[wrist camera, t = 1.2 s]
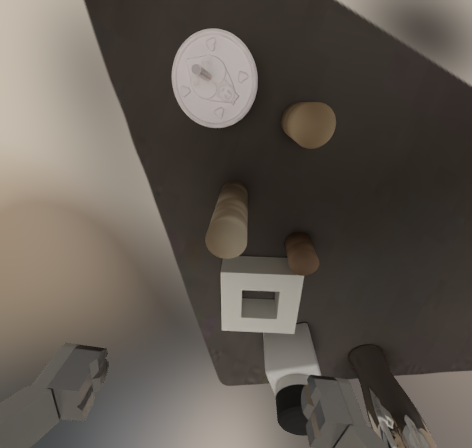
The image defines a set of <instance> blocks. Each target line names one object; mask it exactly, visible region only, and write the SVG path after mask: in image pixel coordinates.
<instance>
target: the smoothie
mask: <svg viewBox="0 0 472 448" xmlns="http://www.w3.org/2000/svg"><path fill="white" fill-rule="evenodd" d="M172 86H173V90H174V94H175V97H176V99H177V101H178V103H179V105H180V107H181V108H182V110H183V111H184V112H185V114H186V115H187V116H188V117H190V118H191V119H192V120H193V121H195V122H196V123H198V124H200V125H203V126H206V127H210V128H224V127H227V126H230V125H233V124H235V123H236V122H238V121H239V120H241V119H242V118H243V117H244V116H245V115H246V114H247V112H248V111H249V110H250V108H251V106H252V104H253V102H254V100H255V97H256V93H257V89H258V74H257V69H256V65H255V61H254V59H253V57H252V55H251V53H250V51H249V50H248V48H247V47H246V45H245V44H244V43H243V42H242V41H241V40H240V39H239V38H238V37H236V36H235V35H233V34H232V33H230V32H228V31H225V30H221V29H205V30H201V31H199V32H196V33H195V34H193V35H191V36H190V37H189V38H188V39H187V40H186V41H185V42H184V43H183V44H182V45H181V47H180V48H179V50H178V52H177V54H176V56H175V59H174V63H173V68H172Z"/></svg>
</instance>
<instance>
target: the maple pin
mask: <svg viewBox="0 0 472 448" xmlns="http://www.w3.org/2000/svg"><path fill="white" fill-rule="evenodd" d="M247 223H248V191H247V188H246V187H245V186H244V185H243V184H242V183H240V182H237V181H230V182H228V183H226V184H225V185H224V186H223V187H222V189H221V192H220V195H219V198H218V201H217V204H216V207H215V210H214V213H213V216H212V219H211V222H210V225H209V228H208V231H207V234H206V238H205V242H206V246H207V248H208V249H209V251H210V252H211V253H212V254H214V255H215V256H217V257H220V258H224V259H230V258H235V257H237V256H239V255H240V254H242V253H243V251H244V250H245V248H246V246H247Z"/></svg>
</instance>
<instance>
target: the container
mask: <svg viewBox="0 0 472 448" xmlns="http://www.w3.org/2000/svg"><path fill="white" fill-rule="evenodd" d="M263 341H264V358H265V373H266V375H267V378H268V380H269V382H270V385H271V387H272V390H273V392H274V394H275V397H276V406H277V418H278V423H279V425H280V426H281V427H282V428H283V429H284V430H285V431H287V432H290V433H292V434H296V435H307V431H306V424H307V421H308V419H307V418H306V416H305V415H304V414H303V411H302V405H301V393H302V390H303V387H304V386H305V385H307V384H308V382H307V379H308V377H309V376H310V375H318V376H321V372H320V368H319V365H318V361H317V357H316V353H315V349H314V346H313V342H312V338H311V335H310V331H309V327H308V324H307V323H300V324H296V327H295V333H294V334H284V333H264V332H263Z"/></svg>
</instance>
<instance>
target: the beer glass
mask: <svg viewBox="0 0 472 448" xmlns="http://www.w3.org/2000/svg"><path fill="white" fill-rule="evenodd" d="M348 360H349V362H350V364H351V366H352V367H353V369H354V371H355V372H356V374H357V377H358V379H359V382H360V385H361V389H362V394H363V398H364V403H365V408H366V412H367V415H368V419H369V422H370V425H371V428H372V429H373V430H374V431H375V432H376V434H377V435H378V436H379V437H380V438H381V439H382V440H383V441H384V443H385V444H386V445H387V446H388V447H389V448H437V446H436V444H435V442H434V440H433V438H432V436H431V434H430V431H429V430H428V428H427V426H426V424H425V422H424V420H423V419H422V417H421V415H420V413H419V411H418V410H417V408H416V407H415V405H414V404H413V402H412V401H411V399H410V398H409V397H408V395H407V394H406V393H405V391H404V390H403V389H402V387H401V386H400V385H399V383H398V382H397V380H396V379H395V378H394V376H393V374H392V373H391V371H390V369H389V367H388V365H387V362H386V359H385V355H384V353H383V351H382V350H381V349H380V348H379V347H377V346H374V345H362V346H359V347H356V348H355V349H353V350H352V351H351V352H350V353H349V356H348Z"/></svg>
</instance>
